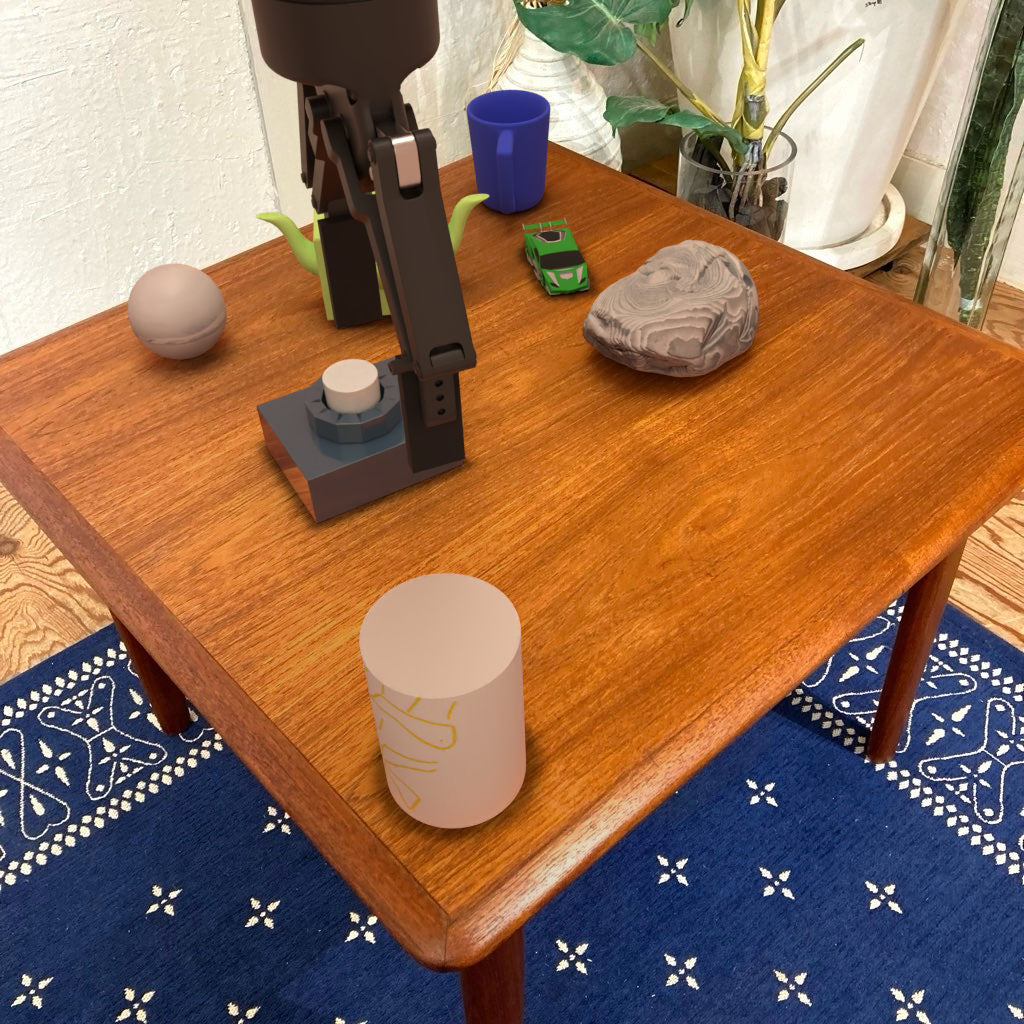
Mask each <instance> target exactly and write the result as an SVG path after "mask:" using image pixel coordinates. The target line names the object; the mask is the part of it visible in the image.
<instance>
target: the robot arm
mask: <svg viewBox="0 0 1024 1024" xmlns="http://www.w3.org/2000/svg"><path fill="white" fill-rule="evenodd" d="M250 1H251V8H252V13H253V19H254V24H255V28H256V29H255V30H256V34H257V39H258V44H259V50H260V55H261V57H262V60H263V62H264V64H265V65H266V66H267V67H268V68H269V69H270V70H271V71H272V72H274V73H275V74H276V75H278V76H279V77H281V78H284V79H286V80H287V81H291V82H293V83H294V82H295V83H296V94H297V115H298V133H299V153H300V170H301V173H300V179H301V182H302V184H304V187H305V188H306V190H309V189H311V194H310V198H311V199H310V203H311V207H312V209H314V208H315V210H316V213H317V214H318V215H319V214H323V213H324V219H319V220H317V222H318V228H319V234H320V240H321V246H322V252H323V258H324V264H325V270H326V276H327V282H328V288H329V294H330V300H331V305H332V311H333V317H334V320H333V323H334V325H335V326H336V327H335V328H337V330H341V329H345V328H349V327H353V326H357V325H361V324H364V323H369V322H373V321H374V322H375V321H378V320H382V319H384V315H382V307H381V299H380V292H379V284H378V276H377V269H376V264H377V268H378V271H379V275H380V278H381V282H382V285H383V289H384V293H385V296H386V300H387V303H388V307H389V310H390V314H391V315H390V316H391V321H392V324H393V328H394V331H395V336H396V338H397V343H398V345H399V349H400V354H395V355H394V356H395V360H392V361H390V362H389V363H388V367H389V370H390V372H391V374H392V375H397V376H398V384H399V392H400V400H401V408H402V416H403V424H404V432H405V440H406V448H407V456H408V464H409V466H410V468H411V470H412V472H413V474H414V473H418V472H421V471H425V470H428V469H432V468H435V467H439V466H442V465H446V464H449V463H453V462H456V461H460V460H462V461H463V460H465V459H466V450H465V436H464V425H463V423H464V421H463V411H462V409H463V408H462V395H461V384H460V383H461V381H460V372H465V371H466V370H470V369H471V370H472V369H475V368H476V367H477V364H478V360H477V357H478V356H477V351H476V349H475V348H474V347H475V346H474V343H473V338H472V333H471V328H470V324H469V318H468V314H467V313H468V312H467V309H466V304H465V299H464V295H463V290H462V285H461V281H460V275H459V271H458V266H457V262H456V257H455V256H456V255H455V256H454V251H453V246H452V242H451V237H450V232H449V227H448V224H449V223H448V219H447V214H446V210H445V209H446V207H445V204H444V200H443V194H442V191H441V190H442V189H441V183H440V182H441V181H440V173H439V164H438V155H437V147H438V145H437V140H436V137H435V136H434V134H433V132H432V130H431V129H430V128H429V127H425V128H419V126H418V122H417V117H416V114H415V111H414V108H413V106H412V104H411V103H410V102H405V101H404V95H403V94H402V92H401V89H402V84H403V82H405V80H406V79H407V77H409V76H410V75H411V74H412V73H413V72H414V71H417V69H422V68H423V67H424V66H426V65H427V64H429V62H430V61H431V60H432V59H433V58H434V57H435V55H436V54H437V52H438V50H439V47H440V43H441V32H440V31H441V30H440V29H441V28H440V17H439V16H440V15H439V3H438V0H250ZM374 191H375V194H372V192H374Z"/></svg>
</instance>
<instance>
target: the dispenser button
mask: <svg viewBox="0 0 1024 1024" xmlns="http://www.w3.org/2000/svg"><path fill="white" fill-rule="evenodd" d="M373 364H374V363H372V362H370V361H368V360H365V359H360V358H348V359H347V358H346V359H342V360H339V361H337V362H335V363H332V364H331V365H329V366H328V367H327V368H326V369H325V370H324V372H323V373H322V375H323V376H322V375H321V376H322V382H323V387H324V392H325V397H326V402H327V405H328V407H329V408H330V409H331V410H332V411H335V412H338V413H340V414H358V413H361V412H364V411H367V410H369V409H372V408H374V407H375V406H376V405H377V404H378V403H379V401H380V399H381V391H380V385H379V378H378V371H377V369H376V367H375V366H374V365H373Z"/></svg>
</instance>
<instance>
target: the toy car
mask: <svg viewBox="0 0 1024 1024" xmlns="http://www.w3.org/2000/svg"><path fill="white" fill-rule="evenodd" d="M567 223H568V222H567V219H566V217H563V219H559V220H552V221H543V222H538V223H532V224H524V223H522V225H521V227H522V230H523V232H524V233H523V237H524V238H523V239H524V250H525V255H526V259H527V261H528V262H529V263H530V265H531V266H532V267H534V269H533V272H534V276H535V277H536V279H537V281H540V284H541V286H542V288H543V289H544V290H545V291H546V293H548V295H549V296H554V295H555V296H557V295H561V294H565V295H566V294H568V295H569V294H570V293H571V294H573V293H575V292H577V291H578V292H583V291H586V290H590V278H589V270H588V266H587V261H586V259H585V258H584V256H583V255H582V253H581V251H580V249H579V247H578V244H577V242H576V240H575V237H574V234H573V232H572V231H571V229H570V228H569V227H567V226H568V225H567ZM559 225H565V226H566V227H561V228H556V229H552V226H559ZM545 227H546V228H547V227H549V230H544V231H543V228H545ZM538 228H539V231H537V232H536V231H535V232H526V230H533V229H538Z"/></svg>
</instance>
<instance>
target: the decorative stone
mask: <svg viewBox="0 0 1024 1024" xmlns="http://www.w3.org/2000/svg"><path fill="white" fill-rule="evenodd" d="M759 301H760V300H759V294H758V290H757V285H756V283H755V281H754V278H753V277H752V275H751V273H750V271H749V269H748V267H747V266H746V265H745V263H743V261H742V260H741V259H740V258H739V257H738V256H737V255H735V254H734V253H733V252H731V251H730V250H728V249H726V248H724V247H722V246H720V245H716V244H712V243H710V242H708V241H705V240H697V239H694V240H693V239H684V240H683V241H682V242H680V243H678V244H672V245H667V246H665V247H662V248H660V249H658V250H657V252H656V253H655V254H653V255H652V256H650V257H649V258H647V259H646V260H645V262H644V264H642V265H640V267H638V268H637V269H636V270H635V271H634V272H632V273H631V274H628V275H626V276H624V277H622V278H619V279H618V280H617V281H615V282H613V283H612V284H610V285H608V286H607V287H606V288H605V289H603V291H601V292H600V293H599V294H598V295H597V297H596V298H595V300H594V301H593V303H592V304H591V306H590V309H589V311H588V313H587V315H586V316H585V318H584V321H583V323H582V336H583V339H584V340H585V342H587V344H589V345H590V346H592V347H593V348H594V349H595V350H597V352H599V353H600V354H601V355H602V356H604V357H605V358H608V359H611V360H613V361H615V362H617V363H619V364H622V365H624V366H627V367H628V368H630V369H633V370H635V371H639V372H646V373H653V374H660V375H664V376H669V377H674V378H688V377H689V378H693V377H700V376H704V375H706V374H708V373H711V372H713V371H715V370H717V369H718V368H720V367H721V366H722V365H724V363H726V362H729V361H731V360H732V359H734V358H736V357H737V356H740V355H742V354H744V353H745V352H746V351H747V350H749V348H750V347H751V346H752V344H753V343H754V340H755V337H756V334H757V331H758V328H759V327H758V326H759V321H760V302H759Z"/></svg>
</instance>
